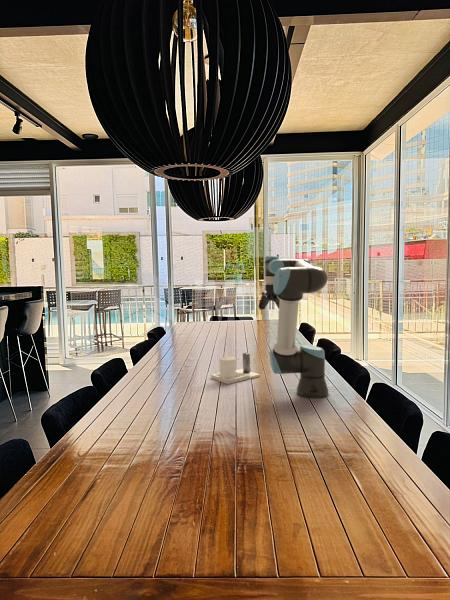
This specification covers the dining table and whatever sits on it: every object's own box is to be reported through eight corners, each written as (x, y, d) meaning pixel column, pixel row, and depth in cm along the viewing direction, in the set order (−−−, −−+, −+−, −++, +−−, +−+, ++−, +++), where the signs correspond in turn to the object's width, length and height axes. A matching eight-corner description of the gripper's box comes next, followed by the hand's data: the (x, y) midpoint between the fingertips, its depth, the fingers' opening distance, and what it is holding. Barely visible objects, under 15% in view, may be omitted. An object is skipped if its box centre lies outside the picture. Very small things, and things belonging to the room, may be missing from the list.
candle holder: (215, 380, 237) (215, 358, 236) (225, 376, 245) (225, 355, 244) (230, 382, 231) (230, 361, 230) (240, 378, 239) (239, 357, 238)
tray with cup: (259, 376, 242) (259, 355, 241) (228, 384, 229) (228, 361, 227) (241, 370, 255) (241, 350, 254) (210, 377, 241) (210, 356, 240)
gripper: (293, 284, 232) (293, 323, 234) (261, 282, 251) (262, 318, 253) (283, 285, 227) (283, 324, 229) (252, 283, 247) (252, 320, 249)
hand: (272, 321), depth 241 cm, fingers open, 13 cm apart
